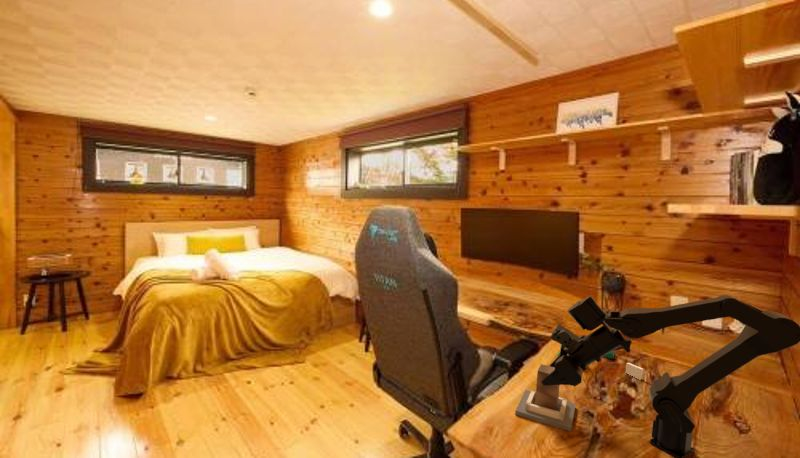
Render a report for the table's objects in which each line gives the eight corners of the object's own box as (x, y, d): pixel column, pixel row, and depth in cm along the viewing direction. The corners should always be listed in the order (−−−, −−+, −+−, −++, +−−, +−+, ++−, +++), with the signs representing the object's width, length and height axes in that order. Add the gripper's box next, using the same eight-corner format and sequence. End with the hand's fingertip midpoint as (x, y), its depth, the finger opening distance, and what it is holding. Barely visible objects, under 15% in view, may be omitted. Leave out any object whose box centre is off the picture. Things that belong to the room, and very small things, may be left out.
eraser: (627, 373, 126) (629, 362, 125) (642, 379, 121) (643, 368, 121) (625, 373, 125) (626, 363, 125) (639, 380, 121) (641, 369, 120)
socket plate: (575, 407, 101) (576, 398, 101) (570, 431, 90) (571, 421, 90) (525, 393, 108) (525, 384, 108) (515, 414, 96) (515, 404, 96)
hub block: (557, 405, 100) (560, 368, 99) (555, 414, 95) (558, 376, 95) (537, 400, 102) (540, 364, 102) (534, 408, 98) (537, 370, 97)
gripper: (575, 309, 103) (530, 340, 109) (569, 327, 87) (516, 362, 93) (606, 344, 100) (557, 373, 106) (605, 369, 84) (548, 402, 90)
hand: (545, 376), depth 99 cm, fingers open, 9 cm apart
